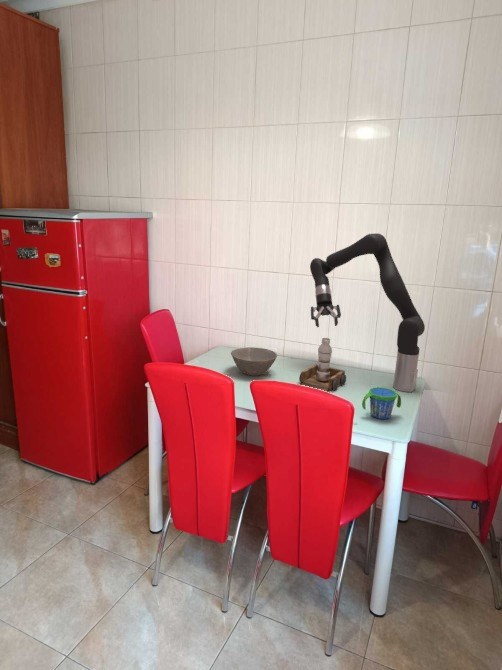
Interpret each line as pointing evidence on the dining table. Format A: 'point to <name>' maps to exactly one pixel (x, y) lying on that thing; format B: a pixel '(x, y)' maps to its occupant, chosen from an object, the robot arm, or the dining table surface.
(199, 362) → the dining table surface
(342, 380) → the tray
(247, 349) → the ceramic bowl
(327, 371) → the grey ridged cylindrical piece
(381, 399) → the snack cup
